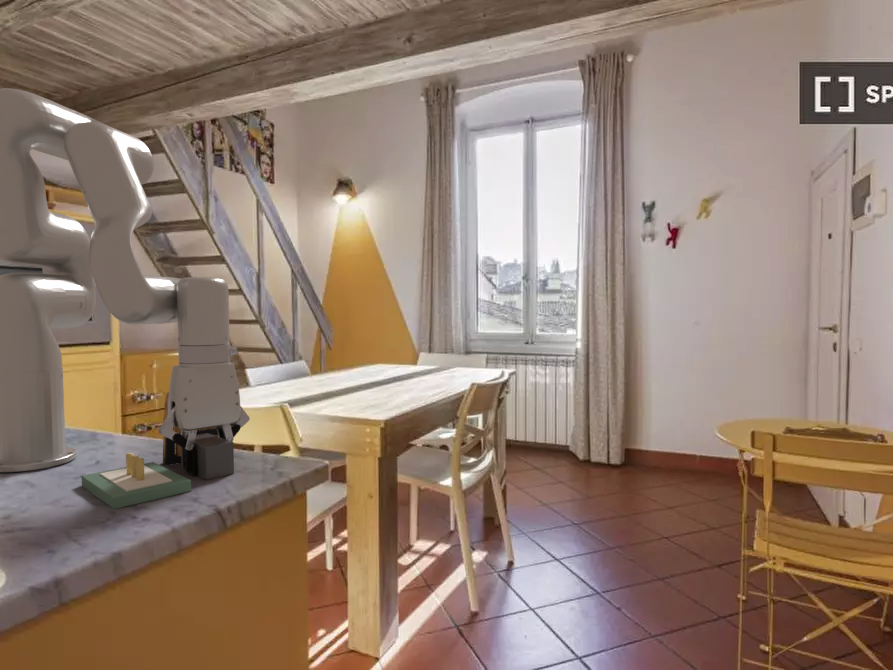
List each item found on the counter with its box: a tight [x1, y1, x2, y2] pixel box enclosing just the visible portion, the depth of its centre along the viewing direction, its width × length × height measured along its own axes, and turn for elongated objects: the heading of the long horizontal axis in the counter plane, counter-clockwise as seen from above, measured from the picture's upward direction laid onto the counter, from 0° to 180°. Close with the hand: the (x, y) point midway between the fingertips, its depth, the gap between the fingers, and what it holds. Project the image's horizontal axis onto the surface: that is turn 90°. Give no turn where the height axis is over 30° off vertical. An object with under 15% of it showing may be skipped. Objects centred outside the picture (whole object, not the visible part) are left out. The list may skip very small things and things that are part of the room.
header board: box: [81, 452, 192, 510], centre depth 84 cm, size 14×10×5 cm
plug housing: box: [181, 433, 235, 481], centre depth 93 cm, size 9×4×5 cm, turn 47°
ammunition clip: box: [162, 391, 219, 466], centre depth 99 cm, size 11×2×12 cm, turn 127°
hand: (207, 468), depth 93 cm, fingers closed on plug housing, 4 cm apart
